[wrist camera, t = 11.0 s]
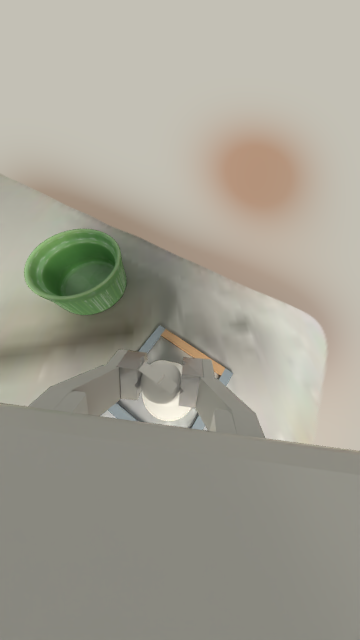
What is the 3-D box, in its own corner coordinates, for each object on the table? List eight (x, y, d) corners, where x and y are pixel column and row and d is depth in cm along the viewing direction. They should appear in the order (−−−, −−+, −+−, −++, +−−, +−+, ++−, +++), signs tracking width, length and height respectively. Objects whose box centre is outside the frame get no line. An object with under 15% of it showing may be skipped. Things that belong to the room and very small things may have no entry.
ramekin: (42, 282, 21) (10, 253, 17) (108, 248, 23) (94, 217, 19) (74, 336, 18) (44, 318, 14) (145, 291, 20) (138, 264, 16)
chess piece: (163, 352, 17) (145, 298, 8) (206, 381, 16) (243, 357, 7) (130, 397, 15) (59, 394, 6) (176, 434, 14) (172, 497, 5)
